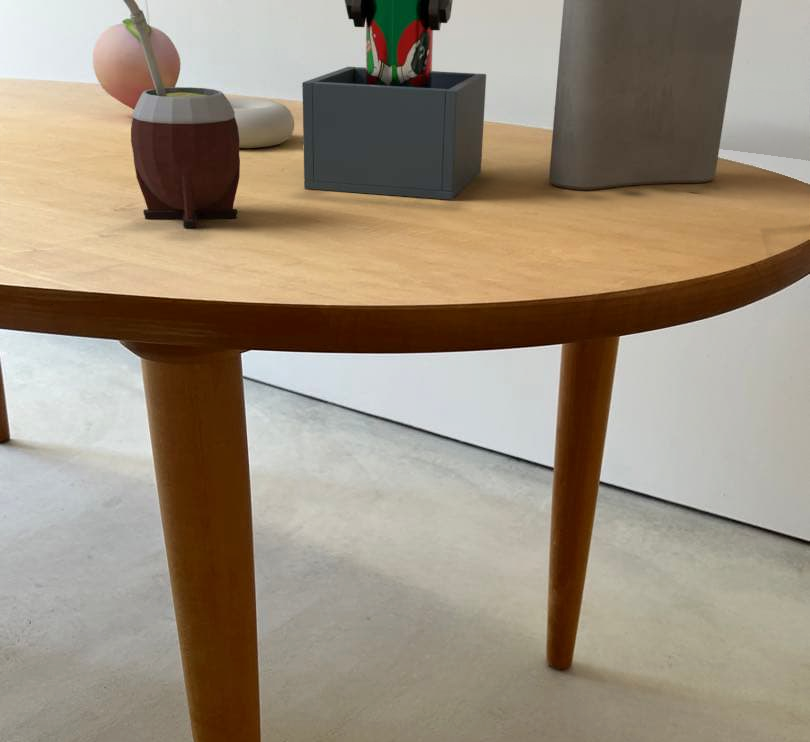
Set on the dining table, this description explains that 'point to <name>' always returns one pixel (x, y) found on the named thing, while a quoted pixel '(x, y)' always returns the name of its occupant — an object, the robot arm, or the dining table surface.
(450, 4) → the robot arm
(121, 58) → the decorative fruit
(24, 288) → the dining table surface
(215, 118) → the mate gourd
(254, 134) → the donut
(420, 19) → the soda can
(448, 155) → the bin
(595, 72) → the flask
